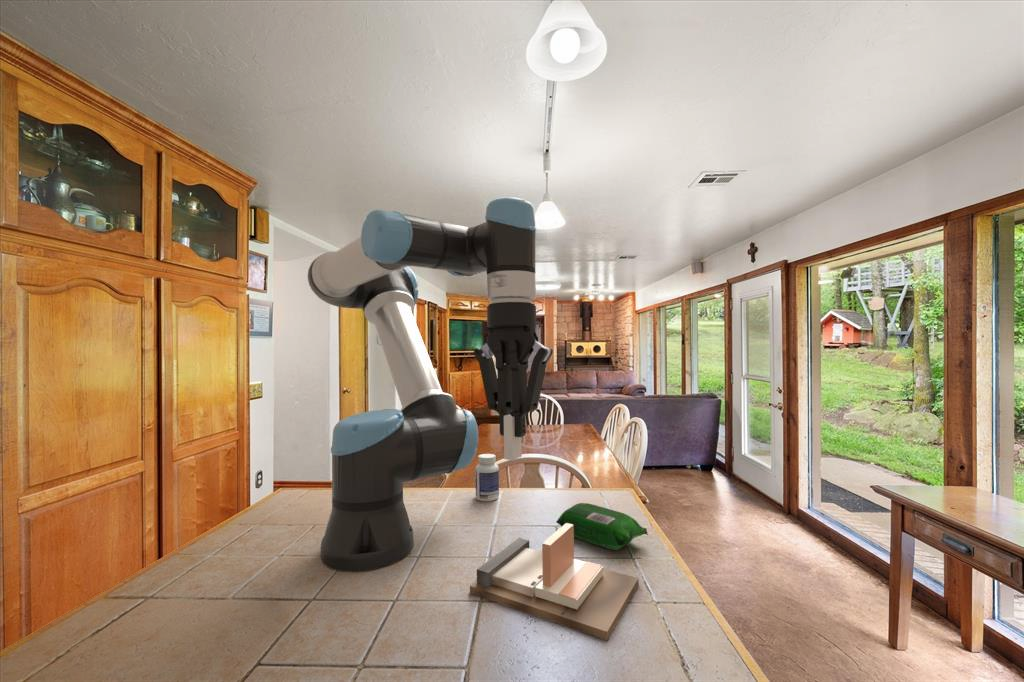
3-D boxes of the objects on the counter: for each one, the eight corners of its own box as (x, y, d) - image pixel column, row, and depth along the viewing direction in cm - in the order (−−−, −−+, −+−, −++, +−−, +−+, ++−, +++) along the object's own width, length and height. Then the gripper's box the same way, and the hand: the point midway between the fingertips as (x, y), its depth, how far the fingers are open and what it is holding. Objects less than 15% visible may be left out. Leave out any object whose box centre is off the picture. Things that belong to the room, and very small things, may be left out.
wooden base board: (469, 592, 62) (469, 571, 62) (519, 552, 74) (519, 534, 74) (607, 640, 52) (606, 614, 52) (638, 584, 64) (638, 564, 64)
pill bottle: (503, 497, 101) (503, 455, 101) (486, 503, 98) (485, 459, 98) (488, 492, 105) (488, 451, 105) (470, 498, 101) (470, 455, 102)
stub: (535, 596, 59) (534, 545, 59) (565, 564, 67) (565, 520, 68) (577, 609, 56) (576, 555, 56) (603, 574, 64) (602, 527, 64)
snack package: (628, 562, 71) (628, 529, 71) (553, 533, 82) (553, 505, 82) (649, 548, 76) (649, 517, 76) (576, 522, 87) (576, 496, 87)
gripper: (462, 303, 67) (463, 458, 67) (538, 297, 60) (539, 469, 60) (489, 307, 74) (490, 448, 73) (560, 302, 67) (562, 457, 66)
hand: (512, 457), depth 67 cm, fingers closed
